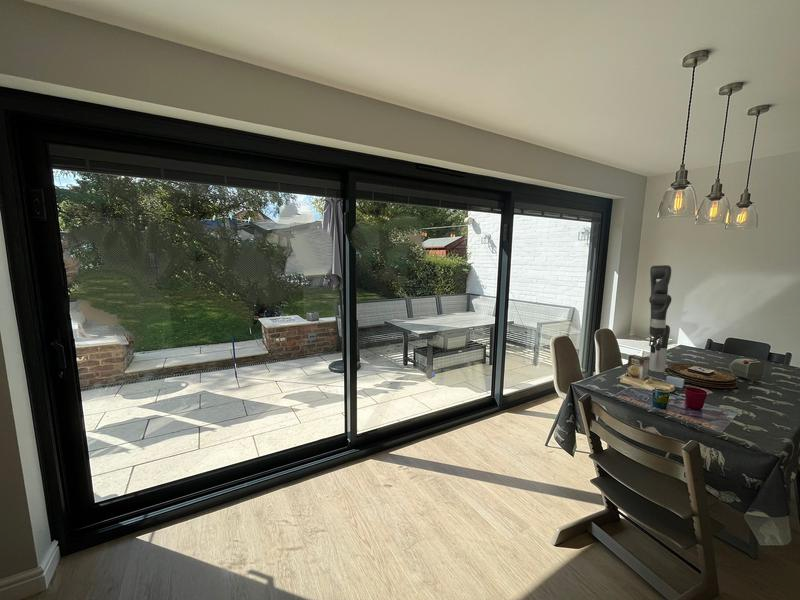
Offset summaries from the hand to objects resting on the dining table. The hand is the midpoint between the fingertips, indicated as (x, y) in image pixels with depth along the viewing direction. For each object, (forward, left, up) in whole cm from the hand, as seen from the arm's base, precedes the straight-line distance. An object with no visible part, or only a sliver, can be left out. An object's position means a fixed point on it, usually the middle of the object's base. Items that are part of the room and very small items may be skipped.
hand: (655, 351), depth 206 cm
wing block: (-8, +9, -21) cm, 24 cm away
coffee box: (+7, -6, -20) cm, 22 cm away
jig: (+7, -1, -21) cm, 22 cm away
